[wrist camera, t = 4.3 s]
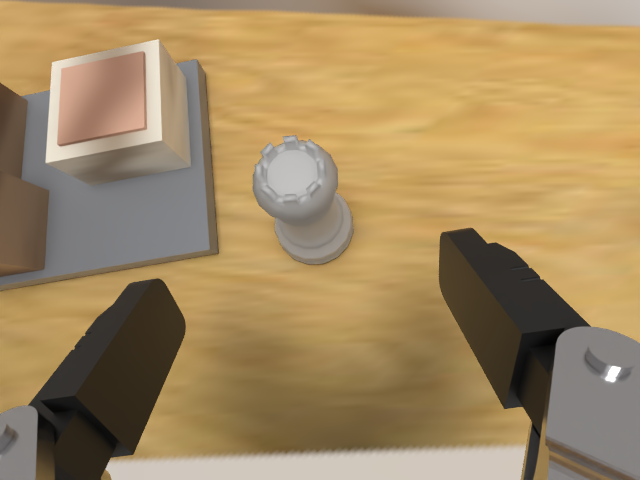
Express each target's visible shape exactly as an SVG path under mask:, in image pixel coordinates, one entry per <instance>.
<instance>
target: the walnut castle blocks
mask: <svg viewBox="0 0 640 480" xmlns="http://www.w3.org/2000/svg"><path fill="white" fill-rule="evenodd" d="M27 106H28V101H27V100H26V99H24V98H22V97H21V96H19V95H18V94H16V93H15V92H13V91H12V90H10V89H9V88H7V87H6V86H4V85H3V84H1V83H0V277H4V276H10V275H16V274H22V273H27V272H33V271H39V270H45V253H46V237H47V221H48V205H49V190H46V189H44V188H41V187H39V186H36V185H34V184H32V183H29V182H27V181H24V180H22V179H21V175H22V164H23V152H24V141H25V129H26V118H27Z"/></svg>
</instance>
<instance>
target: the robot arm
mask: <svg viewBox="0 0 640 480" xmlns="http://www.w3.org/2000/svg"><path fill="white" fill-rule="evenodd" d="M439 284H440V288H441V292H442V295H443V297H444V299H445V301H446V303H447V305H448V307H449V309H450V310H451V312H452V314H453V316H454V318H455V320H456V321H457V323H458V325H459V327H460V329H461V331H462V332H463V334H464V336H465V338H466V340H467V342H468V343H469V345H470V347H471V349H472V351H473V352H474V354H475V356H476V358H477V360H478V362H479V363H480V365H481V367H482V369H483V371H484V373H485V374H486V376H487V378H488V380H489V382H490V384H491V385H492V387H493V389H494V391H495V393H496V395H497V396H498V398H499V400H500V402H501V404H502V406H503V407H504V409H508V408H516V407H523V408H524V409H525V411H526V413H527V414H528V416H529V418H530V419H531V422H530V426H529V431H528V438H527V444H526V450H525V457H524V463H523V470H522V476H521V480H640V343H638V342H637V341H635V340H633V339H631V338H629V337H627V336H625V335H622V334H620V333H617V332H614V331H611V330H608V329H603V328H598V327H591V326H590V325H589V324H588V323H587V322H586V321H585V320H584V319H583V318H582V317H581V316H580V315H579V314H578V313H577V312H576V311H575V310H574V309H573V308H572V307H570V306H569V305H568V304H567V303H566V302H565V301H564V300H563V299H562V298H561V297H560V296H559V295H558V294H557V293H556V292H555V291H554V290H553V289H552V288H551V287H550V286H549V285H548V284H547V283H546V282H545V281H544V280H541V279H540V276H539V275H538V274H537V273H536V272H535V271H534V270H533V269H532V268H529V267H528V264H527V263H526V262H525V261H523V260H522V259H521V258H520V257H519V256H518V255H517V254H516V253H515V252H514V251H512V250H510V249H508V248H506V247H504V246H502V245H500V244H498V243H489V244H487V243H486V242H485V240H484V239H483V238H482V237H481V236H480V235H479V234H478V233H477V232H476V231H475V230H474V229H473V228H466V229H460V230H454V231H448V232H443V233H442V234H441V236H440V254H439ZM185 328H186V327H185V320H184V317H183V315H182V313H181V311H180V309H179V307H178V306H177V304H176V302H175V300H174V298H173V297H172V295H171V293H170V291H169V289H168V288H167V286H166V284H165V283H164V282H163V281H162V280H161V279H151V280H145V281H139V282H133V283H130V284H129V285H128V286H127V287H126V288H125V290H124V291H123V292H122V293H121V295H120V296H119V297H118V299H117V300H116V301H115V303H114V304H113V305H112V306H111V307H109V308H108V309H107V310H106V311H105V312H103V313H102V314H101V315H100V316H99V317H97V319H96V320H95V321H94V322H93V324H92V325H91V326H90V328H89V329H88V330H87V331H86V333H85V336H82V338H81V339H80V340H79V342H78V343H77V344H76V345H75V350H71V352H70V353H69V354H68V355H67V357H66V358H65V359H64V361H63V362H62V363H61V364H60V366H59V367H58V368H57V369H56V371H55V372H54V373H53V375H52V376H51V377H50V378H49V380H48V381H47V382H46V383H45V385H44V386H43V387H42V389H41V390H40V391H39V392H38V394H37V395H36V396H35V397H34V399H33V400H32V401H31V403H30V404H29V405H28V406H19V407H15V408H12V409H10V410H7V411H5V412H3V413H1V414H0V480H111V477H110V474H109V473H108V471H106V470H105V468H106V466H107V464H108V462H109V460H110V458H111V457H119V456H127V455H133V454H134V452H135V450H136V447H137V445H138V443H139V440H140V438H141V436H142V433H143V431H144V429H145V426H146V424H147V422H148V419H149V417H150V415H151V412H152V410H153V408H154V406H155V403H156V401H157V399H158V396H159V394H160V392H161V389H162V387H163V385H164V382H165V380H166V378H167V375H168V373H169V371H170V368H171V366H172V364H173V361H174V359H175V357H176V355H177V352H178V350H179V348H180V345H181V343H182V341H183V338H184V335H185Z"/></svg>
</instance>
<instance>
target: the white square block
mask: <svg viewBox="0 0 640 480" xmlns="http://www.w3.org/2000/svg"><path fill="white" fill-rule="evenodd" d="M45 163H46V164H48V165H50V166H52V167H54V168H56V169H58V170H61V171H63V172H65V173H67V174H69V175H71V176H73V177H75V178H77V179H79V180H81V181H83V182H85V183H87V184H89V185H91V186H93V185H98V184H103V183H108V182H114V181H119V180H124V179H129V178H135V177H140V176H145V175H151V174H156V173H161V172H166V171H172V170H177V169H182V168H188V167H191V155H190V137H189V119H188V101H187V84H186V77H185V76H184V74H183V73H182V72H181V70H180V69H179V67H178V66H177V64H176V63H175V62H174V60H173V59H172V57H171V56H170V54H169V53H168V52H167V50H166V49H165V47H164V46H163V45H162V43H161V42H160V40H159V39H158V40H153V41H148V42H144V43H139V44H135V45H130V46H125V47H121V48H116V49H111V50H107V51H102V52H98V53H93V54H88V55H84V56H79V57H74V58H70V59H65V60H61V61H56V62H52V72H51V87H50V102H49V117H48V132H47V147H46V162H45Z"/></svg>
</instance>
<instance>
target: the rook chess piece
mask: <svg viewBox="0 0 640 480" xmlns="http://www.w3.org/2000/svg"><path fill="white" fill-rule="evenodd" d="M283 140H284V143H282V144H280V145H278V146H276V147H273V145H272V144H271V143H269V144H268V145H267V146H266V147H265V148H264V149H263V150H262V151H261V154H262V156H263V157H262V158H261V159H260V160H259V163H258V165H257V164H255V172H254V174H253V192H254V195H255V197H256V199H257V202H258V204H259V206H260V207H262V208H263V209H264V210H265V211H266V212H267V213H268V214H269V215H270V216H272V217H275V233H276V235H277V237H278V240H279V242H280V244H281V246H282V248H283V249H284V250H285V251H286V252H287V253H288V254H289V255H290V256H291V257H292V258H293V259H295V260H298V261H300V262H303V263H306V264H324V263H326V262H328V261H330V260H332V259H335V258H337V257H338V256H339V255H340V254H341V253H342V252H343V251H344V250H345V249H346V248H347V246H348V245H349V242H350V239H351V236H352V234H353V218H352V215H351V211H350V209H349V207H348V205H347V203H346V201H345V199H343V198H342V197H341V196H340V195H339V194H338V193H336V189H337V187H338V170H337V167H336V165H335V163H334V161H333V159H332V157H331V155H330V154H329V153H327V152H326V151H325V150H324V149H322V148H321V147H320V146H319V145H317V144H315V143H314V142H312V141H311V140H310V139H309V140H308V142H306V141H303V140H301V141H298V139H297V136H296V135H295V136H283Z"/></svg>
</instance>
